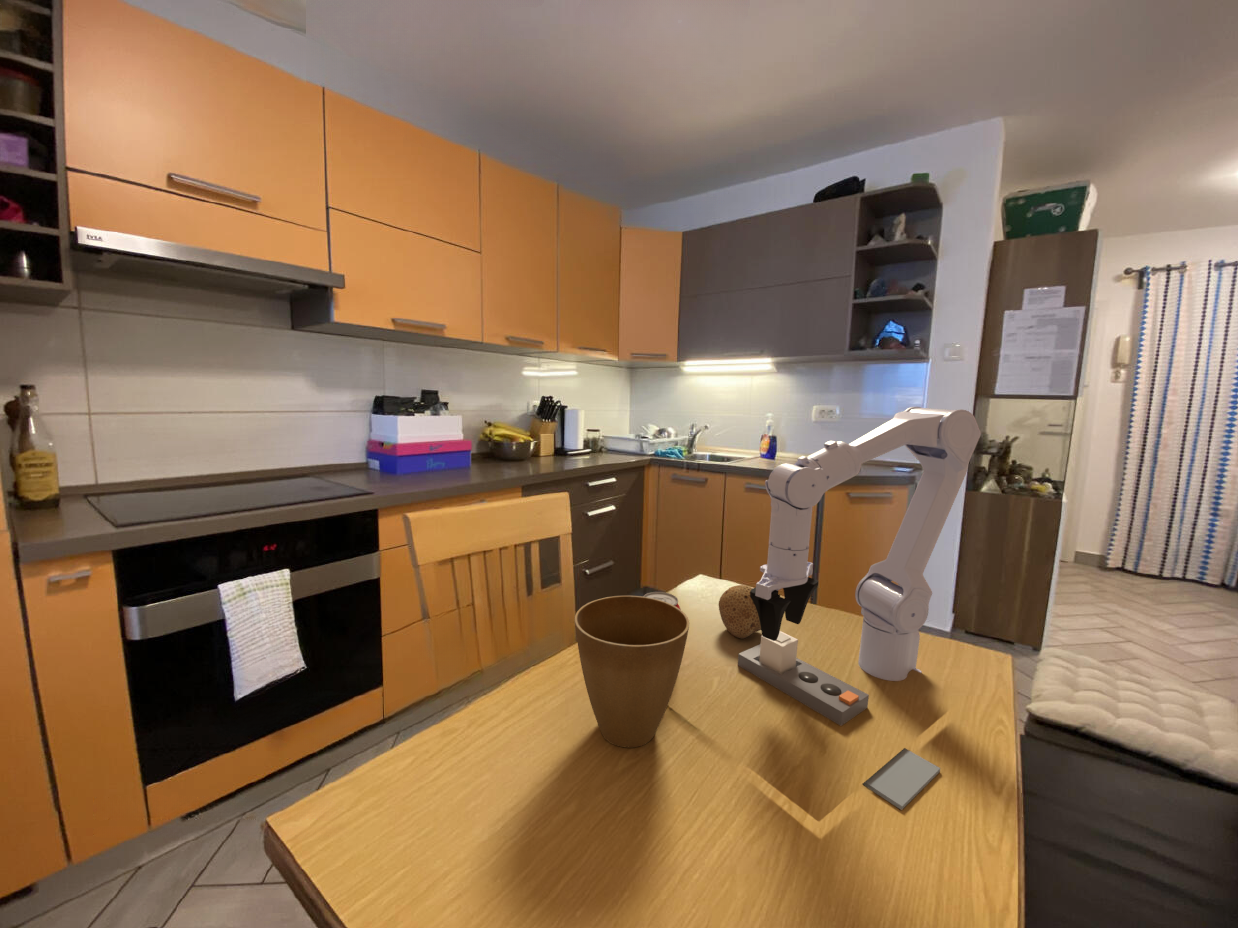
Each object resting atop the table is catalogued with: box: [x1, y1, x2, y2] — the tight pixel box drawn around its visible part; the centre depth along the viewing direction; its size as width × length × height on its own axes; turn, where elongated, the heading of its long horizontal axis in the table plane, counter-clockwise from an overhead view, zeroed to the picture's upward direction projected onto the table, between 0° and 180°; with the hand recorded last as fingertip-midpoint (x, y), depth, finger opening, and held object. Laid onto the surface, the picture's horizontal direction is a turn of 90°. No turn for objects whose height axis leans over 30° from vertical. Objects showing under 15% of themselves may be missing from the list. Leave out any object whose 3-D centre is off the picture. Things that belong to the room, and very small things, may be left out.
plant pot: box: [574, 595, 690, 748], centre depth 67 cm, size 15×15×16 cm
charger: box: [759, 630, 799, 674], centre depth 81 cm, size 4×4×6 cm
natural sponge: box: [718, 584, 761, 639], centre depth 93 cm, size 9×9×10 cm
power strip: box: [737, 643, 870, 727], centre depth 78 cm, size 7×18×4 cm, turn 37°
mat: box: [862, 747, 941, 811], centre depth 63 cm, size 10×10×1 cm
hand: (781, 629), depth 78 cm, fingers open, 7 cm apart
